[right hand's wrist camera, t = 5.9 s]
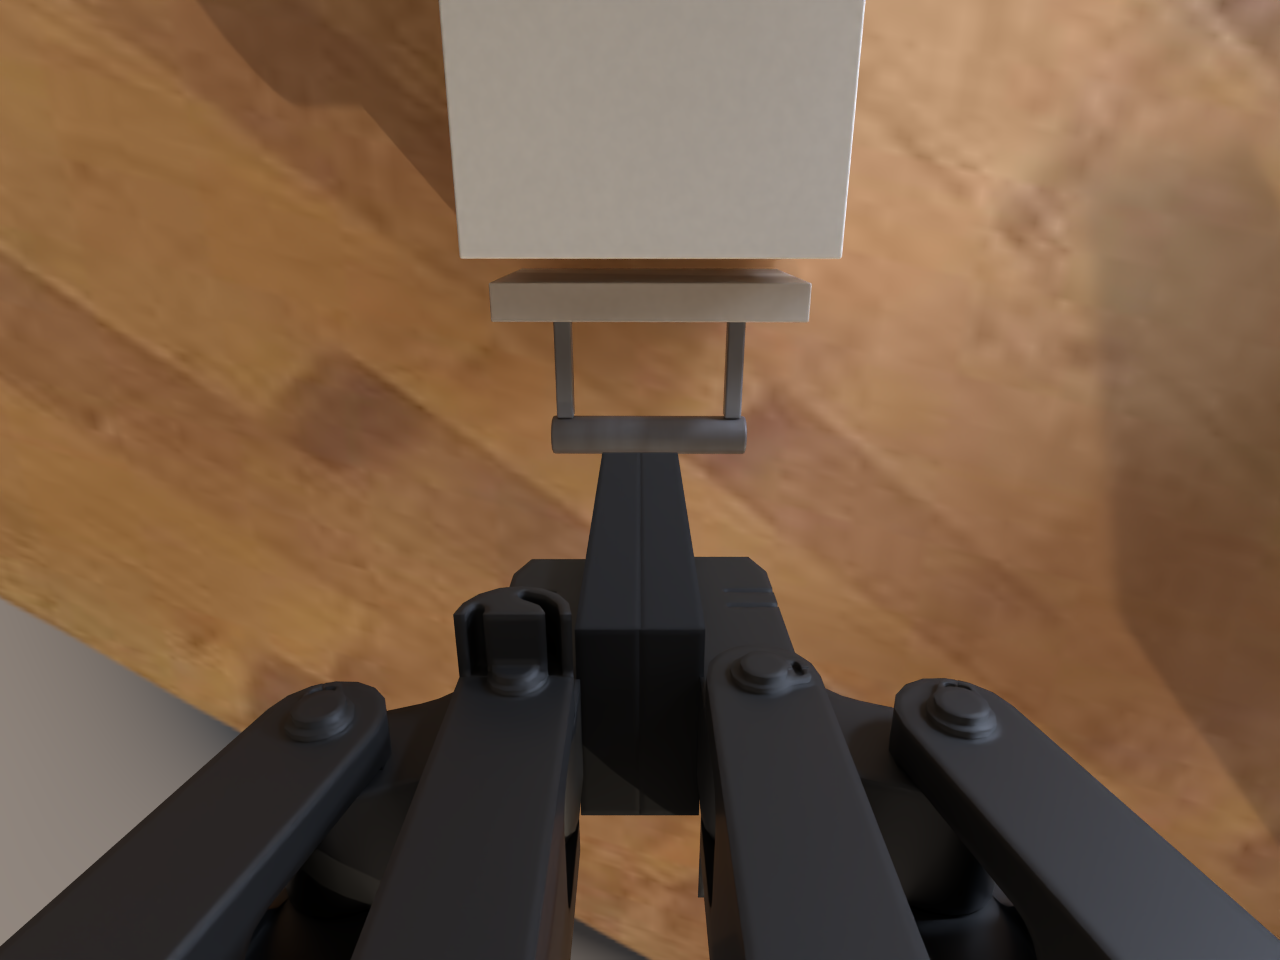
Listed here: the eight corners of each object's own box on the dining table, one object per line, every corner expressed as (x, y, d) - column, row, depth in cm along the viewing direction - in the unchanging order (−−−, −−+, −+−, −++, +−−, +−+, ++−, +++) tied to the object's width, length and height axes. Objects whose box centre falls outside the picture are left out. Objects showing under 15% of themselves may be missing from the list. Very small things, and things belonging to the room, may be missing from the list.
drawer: (767, 427, 30) (796, 478, 24) (529, 426, 30) (502, 477, 25) (818, -372, 22) (882, -589, 16) (486, -370, 22) (428, -585, 16)
